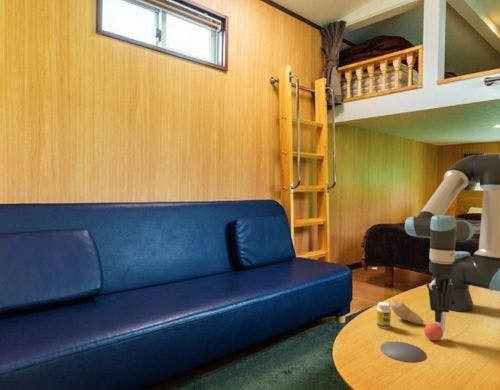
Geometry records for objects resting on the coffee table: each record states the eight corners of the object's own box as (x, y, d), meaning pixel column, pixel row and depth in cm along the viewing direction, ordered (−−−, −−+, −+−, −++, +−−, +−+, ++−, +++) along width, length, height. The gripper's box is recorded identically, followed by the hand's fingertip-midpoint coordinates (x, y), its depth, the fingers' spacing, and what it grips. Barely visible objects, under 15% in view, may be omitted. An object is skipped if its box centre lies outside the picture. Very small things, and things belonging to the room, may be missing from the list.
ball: (435, 333, 121) (434, 318, 120) (447, 341, 116) (446, 326, 115) (421, 337, 120) (420, 322, 119) (432, 345, 115) (431, 330, 114)
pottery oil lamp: (417, 329, 126) (418, 309, 126) (385, 319, 135) (385, 301, 135) (427, 322, 132) (427, 304, 132) (395, 313, 141) (396, 296, 141)
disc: (408, 340, 117) (408, 340, 117) (436, 360, 104) (436, 359, 104) (372, 343, 114) (372, 343, 114) (396, 364, 102) (396, 363, 102)
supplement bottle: (383, 330, 126) (384, 306, 125) (373, 325, 130) (374, 302, 129) (393, 327, 128) (393, 304, 127) (382, 322, 132) (383, 300, 132)
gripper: (441, 265, 112) (439, 338, 113) (463, 261, 119) (461, 330, 119) (419, 261, 119) (417, 330, 119) (442, 257, 125) (439, 323, 126)
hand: (439, 330), depth 119 cm, fingers closed
